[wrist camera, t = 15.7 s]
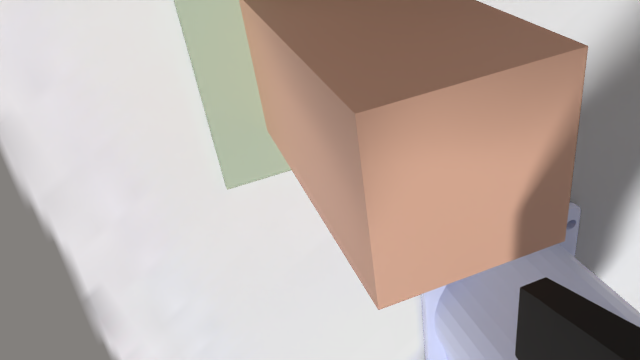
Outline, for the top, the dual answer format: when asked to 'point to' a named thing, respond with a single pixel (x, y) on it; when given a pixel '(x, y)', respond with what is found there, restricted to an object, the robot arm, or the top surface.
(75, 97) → the top surface
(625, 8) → the top surface
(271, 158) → the mat
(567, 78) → the terracotta block
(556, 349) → the robot arm
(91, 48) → the top surface
